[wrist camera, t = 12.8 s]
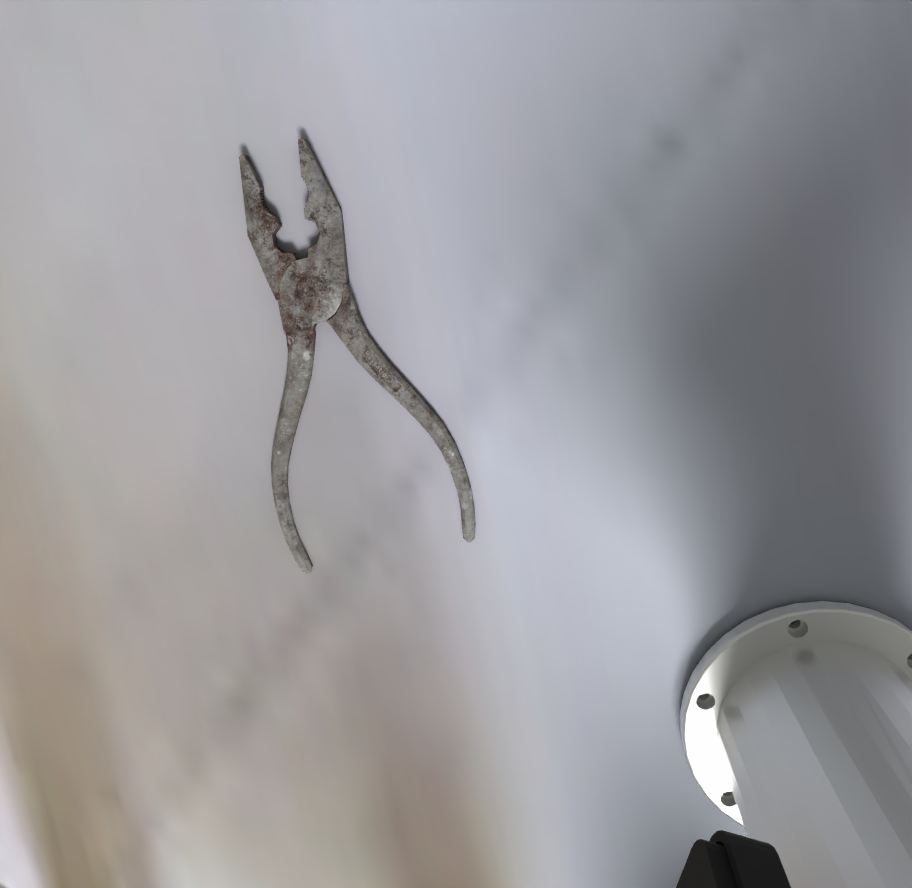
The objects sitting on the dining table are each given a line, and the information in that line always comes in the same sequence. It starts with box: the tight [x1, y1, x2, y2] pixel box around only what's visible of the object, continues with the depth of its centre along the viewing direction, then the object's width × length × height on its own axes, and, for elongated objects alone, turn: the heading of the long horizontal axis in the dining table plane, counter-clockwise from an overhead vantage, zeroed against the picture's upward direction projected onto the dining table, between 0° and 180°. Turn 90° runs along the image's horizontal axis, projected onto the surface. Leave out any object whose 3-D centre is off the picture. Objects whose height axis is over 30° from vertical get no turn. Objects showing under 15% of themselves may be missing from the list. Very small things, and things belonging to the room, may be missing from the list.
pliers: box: [239, 139, 475, 573], centre depth 37 cm, size 10×1×20 cm
